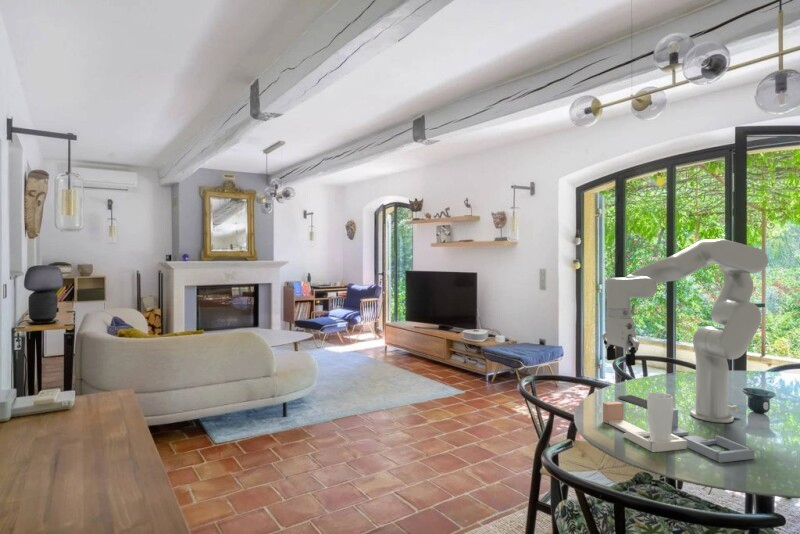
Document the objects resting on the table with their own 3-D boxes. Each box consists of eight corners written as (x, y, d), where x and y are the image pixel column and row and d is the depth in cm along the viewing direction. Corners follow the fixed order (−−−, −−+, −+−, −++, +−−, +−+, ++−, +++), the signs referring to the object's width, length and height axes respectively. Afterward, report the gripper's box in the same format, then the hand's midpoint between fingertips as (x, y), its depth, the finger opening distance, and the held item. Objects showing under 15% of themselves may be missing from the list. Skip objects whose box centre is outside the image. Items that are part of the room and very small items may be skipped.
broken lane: (678, 426, 156) (679, 407, 156) (754, 458, 131) (754, 435, 131) (649, 429, 154) (649, 409, 154) (719, 462, 128) (720, 438, 128)
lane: (625, 419, 163) (625, 400, 163) (686, 448, 138) (686, 426, 138) (595, 421, 161) (595, 403, 161) (652, 452, 135) (652, 429, 135)
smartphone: (651, 408, 174) (617, 396, 189) (651, 411, 174) (617, 399, 189) (666, 406, 177) (631, 394, 192) (666, 409, 177) (631, 397, 192)
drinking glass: (676, 451, 136) (676, 399, 136) (650, 449, 138) (650, 397, 138) (669, 442, 143) (669, 393, 143) (644, 440, 145) (644, 391, 144)
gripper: (646, 315, 157) (648, 366, 158) (611, 310, 174) (613, 356, 174) (627, 316, 156) (629, 368, 156) (593, 311, 172) (595, 358, 173)
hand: (620, 362), depth 165 cm, fingers open, 9 cm apart
